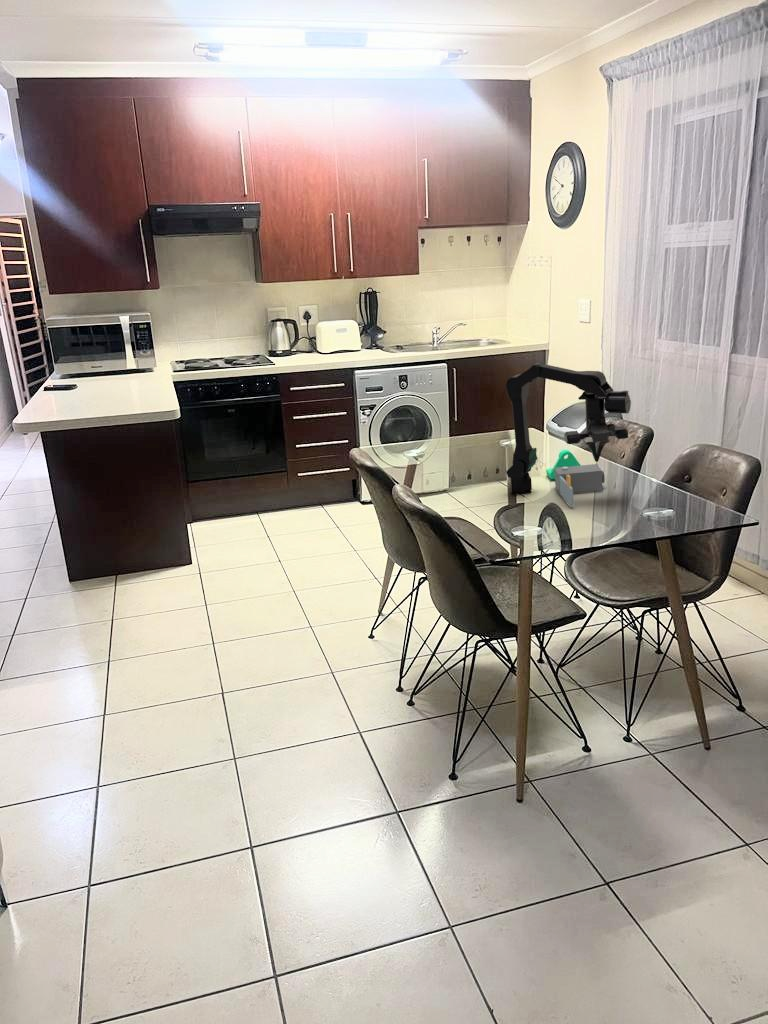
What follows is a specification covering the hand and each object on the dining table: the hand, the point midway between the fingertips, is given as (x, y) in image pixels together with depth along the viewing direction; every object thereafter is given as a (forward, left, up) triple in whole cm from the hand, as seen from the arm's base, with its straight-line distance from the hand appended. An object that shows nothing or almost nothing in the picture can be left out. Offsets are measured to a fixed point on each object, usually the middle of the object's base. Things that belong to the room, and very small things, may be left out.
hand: (596, 461), depth 238 cm
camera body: (-4, +10, -12) cm, 16 cm away
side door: (-10, -1, -12) cm, 16 cm away
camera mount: (-6, +25, -13) cm, 29 cm away
